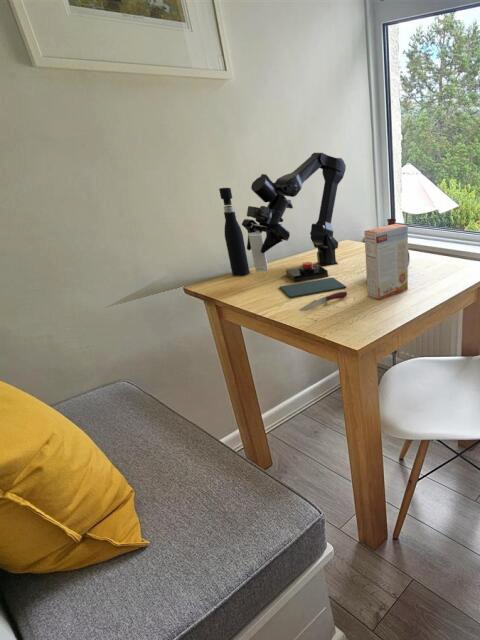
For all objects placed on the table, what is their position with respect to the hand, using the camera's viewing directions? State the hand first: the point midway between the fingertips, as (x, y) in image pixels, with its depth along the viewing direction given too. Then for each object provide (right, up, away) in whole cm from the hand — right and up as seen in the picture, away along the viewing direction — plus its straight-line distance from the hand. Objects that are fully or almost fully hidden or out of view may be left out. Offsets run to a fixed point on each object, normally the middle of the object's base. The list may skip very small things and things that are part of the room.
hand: (254, 251), depth 144 cm
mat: (+19, -12, +3) cm, 23 cm away
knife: (+25, -21, -11) cm, 35 cm away
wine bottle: (-11, -3, +19) cm, 22 cm away
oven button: (+16, -3, +12) cm, 20 cm away
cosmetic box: (+1, -5, +5) cm, 7 cm away
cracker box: (+45, -15, -2) cm, 47 cm away
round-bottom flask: (+47, -5, +13) cm, 49 cm away
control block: (+15, -4, +15) cm, 22 cm away
